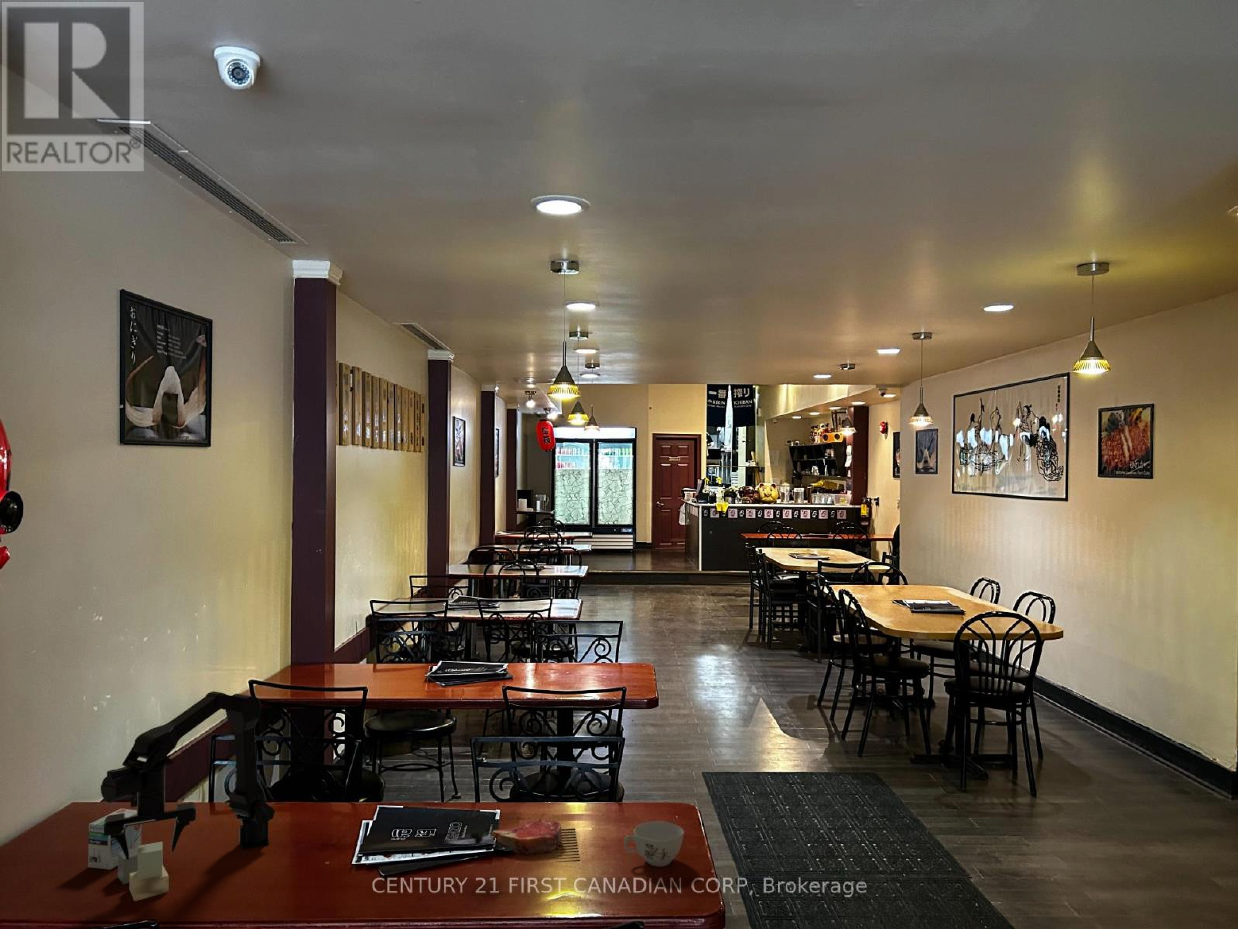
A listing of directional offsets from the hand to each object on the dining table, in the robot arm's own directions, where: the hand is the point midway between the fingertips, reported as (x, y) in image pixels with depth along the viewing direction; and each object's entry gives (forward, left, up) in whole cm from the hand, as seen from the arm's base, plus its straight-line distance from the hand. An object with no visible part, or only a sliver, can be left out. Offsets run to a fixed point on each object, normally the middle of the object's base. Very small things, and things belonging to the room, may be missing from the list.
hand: (150, 855), depth 199 cm
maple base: (0, 0, -8) cm, 8 cm away
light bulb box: (+8, -22, -8) cm, 25 cm away
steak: (-87, +21, -9) cm, 90 cm away
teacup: (-111, +44, -8) cm, 120 cm away
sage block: (0, 0, -4) cm, 4 cm away
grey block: (+4, -9, -8) cm, 13 cm away
